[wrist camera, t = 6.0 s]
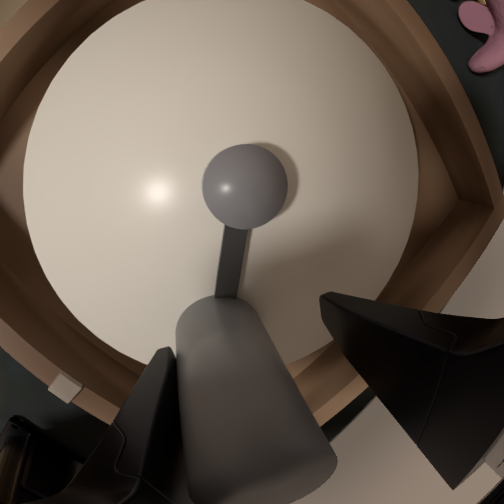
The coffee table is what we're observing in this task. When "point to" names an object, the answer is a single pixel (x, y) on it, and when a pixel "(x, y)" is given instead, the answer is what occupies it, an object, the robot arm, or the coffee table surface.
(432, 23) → the coffee table surface
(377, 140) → the dial
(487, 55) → the video game controller
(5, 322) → the dial frame
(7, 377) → the coffee table surface
